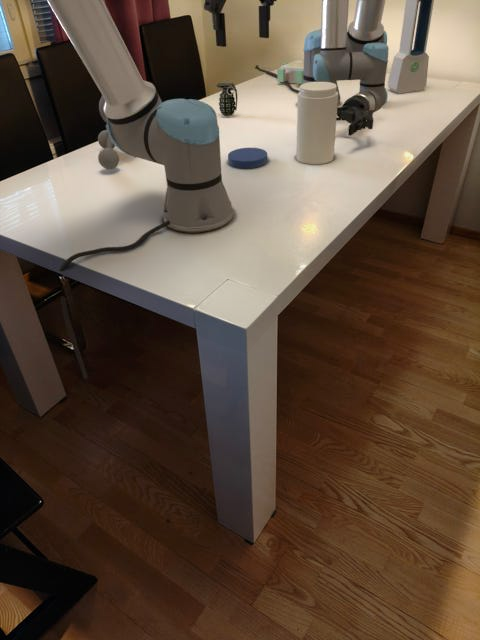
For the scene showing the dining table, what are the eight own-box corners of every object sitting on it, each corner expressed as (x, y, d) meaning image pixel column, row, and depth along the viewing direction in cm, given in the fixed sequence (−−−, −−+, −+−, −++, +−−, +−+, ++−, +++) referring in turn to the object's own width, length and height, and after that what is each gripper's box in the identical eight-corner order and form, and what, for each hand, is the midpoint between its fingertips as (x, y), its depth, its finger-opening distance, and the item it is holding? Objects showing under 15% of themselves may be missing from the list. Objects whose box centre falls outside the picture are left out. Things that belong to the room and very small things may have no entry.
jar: (289, 161, 132) (290, 88, 121) (305, 149, 139) (308, 79, 128) (324, 166, 128) (329, 92, 117) (339, 154, 134) (344, 82, 123)
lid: (275, 162, 132) (275, 154, 131) (242, 171, 128) (242, 164, 126) (252, 152, 139) (252, 144, 138) (220, 160, 135) (220, 153, 133)
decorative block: (300, 55, 216) (341, 58, 206) (299, 71, 220) (340, 74, 210) (268, 66, 200) (311, 70, 190) (268, 83, 204) (310, 87, 194)
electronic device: (396, 93, 181) (409, -3, 162) (386, 89, 187) (397, -4, 168) (425, 90, 183) (442, -6, 165) (415, 85, 189) (429, -7, 170)
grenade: (217, 117, 168) (214, 86, 162) (221, 112, 172) (219, 82, 166) (235, 117, 166) (233, 86, 160) (239, 113, 171) (238, 82, 165)
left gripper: (203, -72, 94) (212, 51, 107) (293, -76, 107) (291, 35, 120) (180, -70, 99) (192, 48, 112) (269, -74, 111) (270, 33, 124)
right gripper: (396, 125, 144) (368, 147, 130) (320, 116, 155) (287, 135, 142) (400, 98, 139) (371, 118, 126) (321, 90, 151) (287, 108, 137)
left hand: (243, 41), depth 116 cm, fingers open, 13 cm apart
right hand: (326, 127), depth 134 cm, fingers open, 13 cm apart
